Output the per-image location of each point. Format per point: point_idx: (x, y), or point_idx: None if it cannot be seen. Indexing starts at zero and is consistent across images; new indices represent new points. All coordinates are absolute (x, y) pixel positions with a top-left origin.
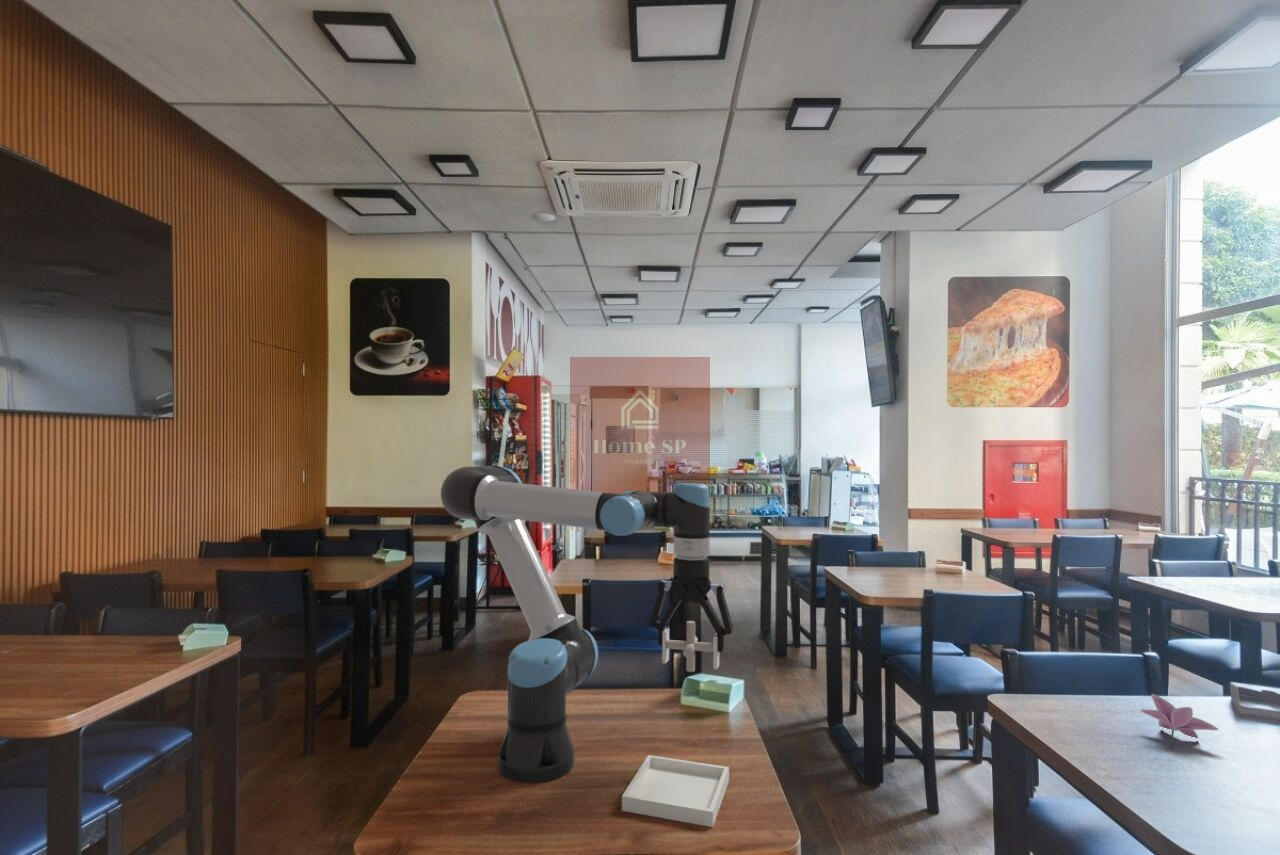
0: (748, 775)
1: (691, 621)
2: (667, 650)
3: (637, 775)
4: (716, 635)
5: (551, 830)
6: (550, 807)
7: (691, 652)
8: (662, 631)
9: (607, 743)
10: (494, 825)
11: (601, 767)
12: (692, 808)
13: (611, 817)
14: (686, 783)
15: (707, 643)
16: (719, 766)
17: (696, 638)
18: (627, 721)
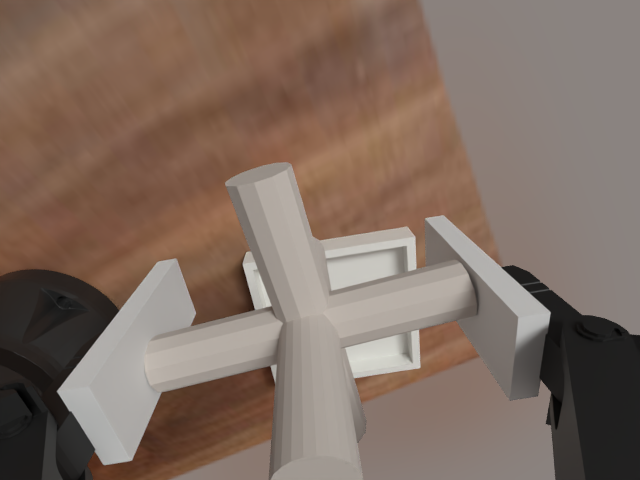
0: (439, 190)
1: (312, 470)
2: (168, 320)
3: None
4: (529, 364)
5: (221, 435)
6: (183, 405)
7: (363, 427)
8: (90, 447)
9: (102, 198)
10: (152, 455)
11: None
12: (389, 372)
13: (273, 389)
14: (343, 286)
15: (427, 323)
16: (396, 243)
17: (294, 204)
18: (44, 47)
